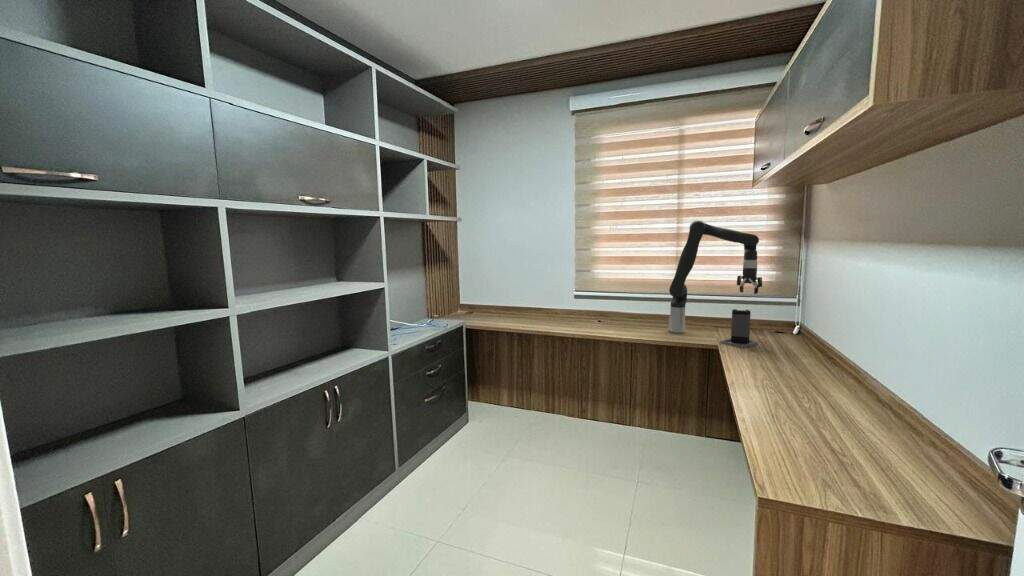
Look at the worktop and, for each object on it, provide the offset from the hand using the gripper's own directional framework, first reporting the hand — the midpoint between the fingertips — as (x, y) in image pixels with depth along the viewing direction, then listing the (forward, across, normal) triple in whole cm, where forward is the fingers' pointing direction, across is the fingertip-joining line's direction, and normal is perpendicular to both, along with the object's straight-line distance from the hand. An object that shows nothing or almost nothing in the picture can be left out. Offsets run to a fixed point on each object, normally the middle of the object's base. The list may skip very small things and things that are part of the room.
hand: (748, 293), depth 245 cm
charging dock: (+28, +6, -18) cm, 34 cm away
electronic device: (+28, +6, -18) cm, 34 cm away
